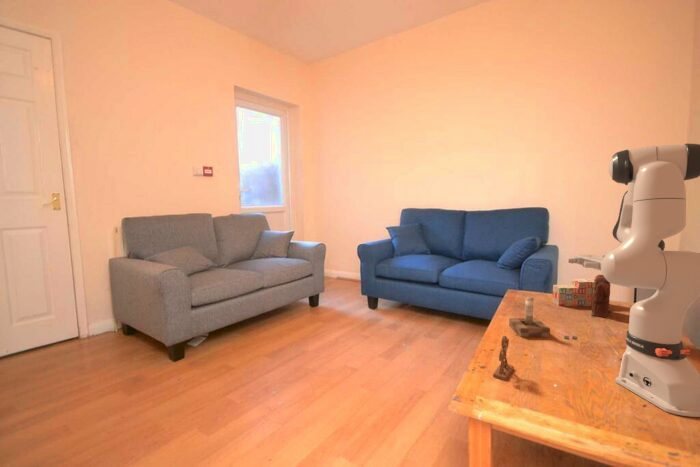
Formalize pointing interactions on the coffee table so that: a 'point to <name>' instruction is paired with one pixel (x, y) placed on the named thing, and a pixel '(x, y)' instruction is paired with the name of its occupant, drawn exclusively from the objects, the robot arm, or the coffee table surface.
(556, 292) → the stack of blocks
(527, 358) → the coffee table surface
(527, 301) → the wooden dowel
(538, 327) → the square hole block
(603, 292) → the wooden figurine
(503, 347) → the brown ring sculpture
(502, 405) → the coffee table surface
